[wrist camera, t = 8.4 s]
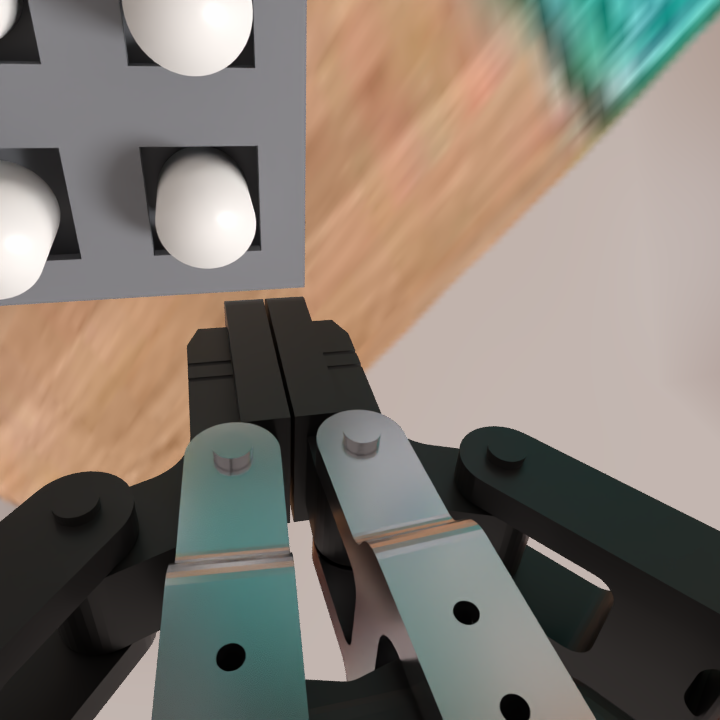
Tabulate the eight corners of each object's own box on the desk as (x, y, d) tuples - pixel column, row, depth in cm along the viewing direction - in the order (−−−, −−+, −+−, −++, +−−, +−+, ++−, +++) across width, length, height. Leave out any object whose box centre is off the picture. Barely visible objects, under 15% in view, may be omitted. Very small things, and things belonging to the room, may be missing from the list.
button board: (-220, -188, 20) (-275, -203, 17) (293, -140, 23) (307, -148, 21) (-58, 277, 28) (-79, 310, 26) (294, 259, 32) (304, 287, 30)
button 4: (152, 146, 26) (149, 176, 23) (245, 145, 27) (254, 174, 24) (162, 232, 28) (161, 271, 25) (248, 229, 29) (257, 266, 26)
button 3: (121, -74, 21) (111, -73, 18) (239, -66, 21) (250, -64, 18) (137, 54, 23) (131, 75, 20) (244, 56, 24) (255, 77, 20)
